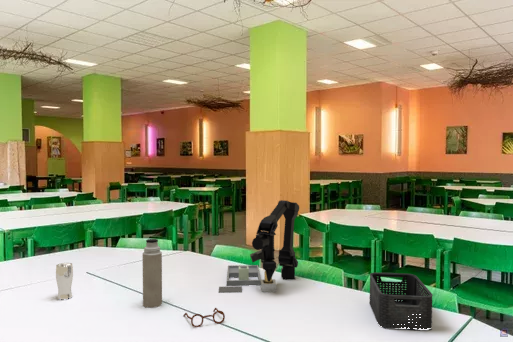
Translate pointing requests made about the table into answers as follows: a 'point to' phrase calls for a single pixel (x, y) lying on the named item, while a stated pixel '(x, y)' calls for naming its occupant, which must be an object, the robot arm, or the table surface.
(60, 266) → the beer glass
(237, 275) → the case
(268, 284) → the grey square socket block
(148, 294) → the thermos bottle
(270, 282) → the rod
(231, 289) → the mat
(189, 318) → the glasses
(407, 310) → the storage bin
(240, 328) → the table surface
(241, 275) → the module
